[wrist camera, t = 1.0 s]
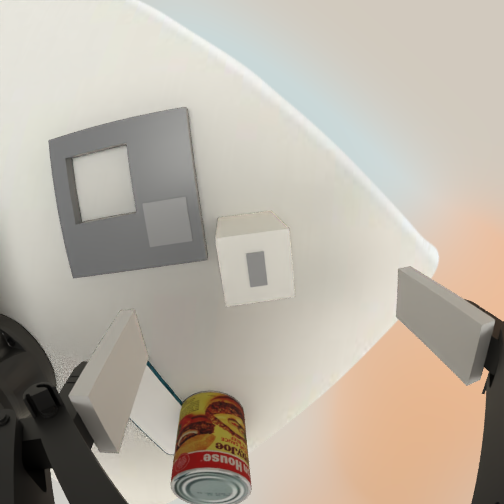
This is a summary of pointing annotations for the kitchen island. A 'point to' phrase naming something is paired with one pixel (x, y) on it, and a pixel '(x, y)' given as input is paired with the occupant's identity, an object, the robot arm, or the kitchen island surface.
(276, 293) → the block
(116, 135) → the grey square base plate
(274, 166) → the kitchen island surface
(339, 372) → the kitchen island surface
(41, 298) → the kitchen island surface
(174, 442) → the smartphone
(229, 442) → the canned food
